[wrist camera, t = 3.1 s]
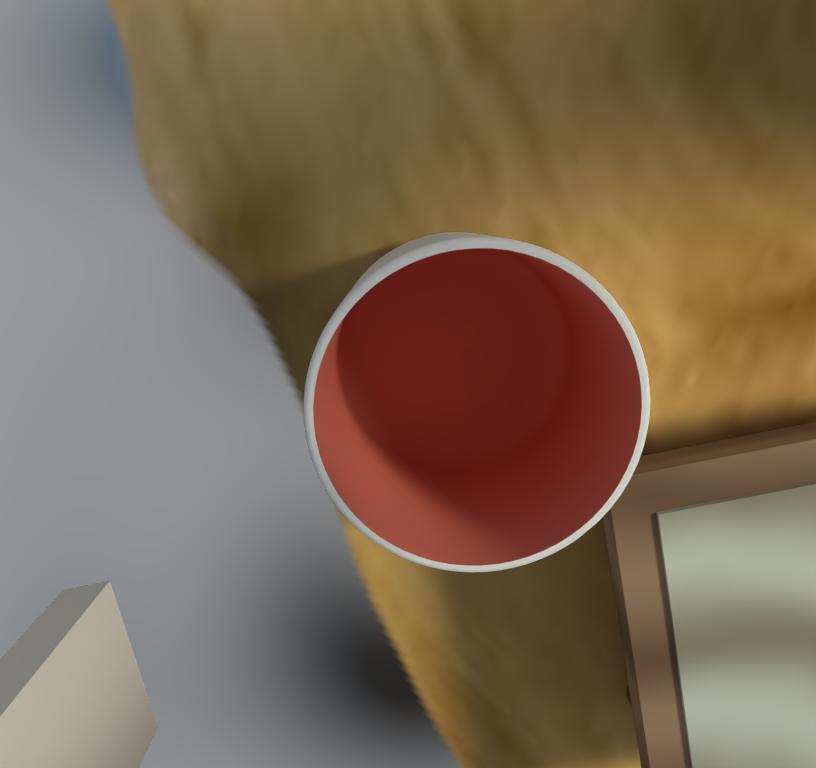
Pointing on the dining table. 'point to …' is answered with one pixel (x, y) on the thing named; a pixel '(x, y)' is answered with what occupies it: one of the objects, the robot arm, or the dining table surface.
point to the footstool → (720, 601)
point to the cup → (476, 402)
